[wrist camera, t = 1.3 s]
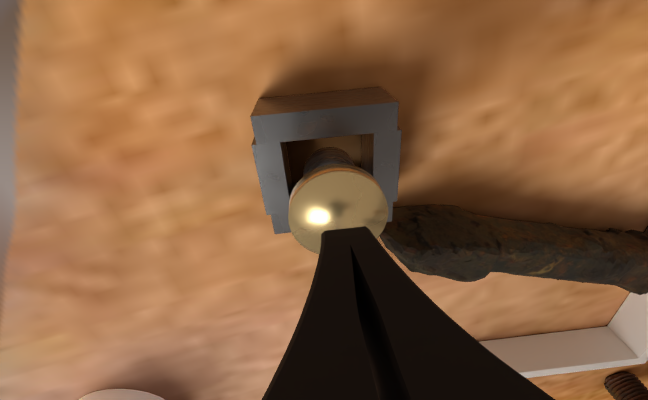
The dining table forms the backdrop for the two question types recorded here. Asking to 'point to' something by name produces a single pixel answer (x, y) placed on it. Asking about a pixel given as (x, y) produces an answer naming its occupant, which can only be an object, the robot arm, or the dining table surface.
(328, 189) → the release plunger
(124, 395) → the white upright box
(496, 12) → the dining table surface
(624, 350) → the white u-shaped bracket
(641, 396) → the bolt
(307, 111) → the tool holder
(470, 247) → the hand tool
